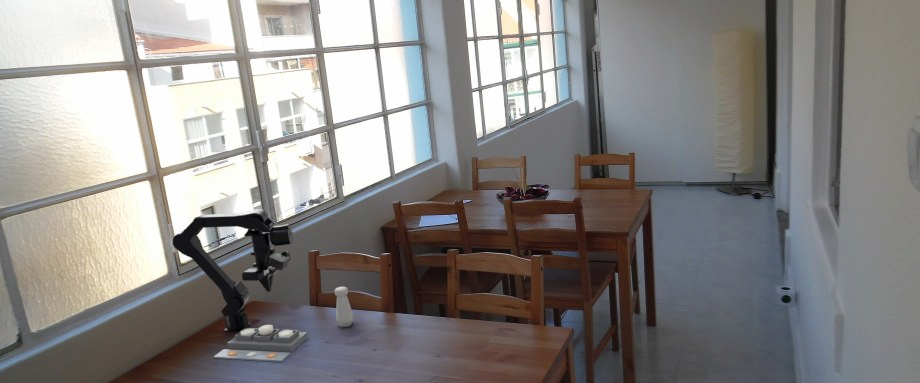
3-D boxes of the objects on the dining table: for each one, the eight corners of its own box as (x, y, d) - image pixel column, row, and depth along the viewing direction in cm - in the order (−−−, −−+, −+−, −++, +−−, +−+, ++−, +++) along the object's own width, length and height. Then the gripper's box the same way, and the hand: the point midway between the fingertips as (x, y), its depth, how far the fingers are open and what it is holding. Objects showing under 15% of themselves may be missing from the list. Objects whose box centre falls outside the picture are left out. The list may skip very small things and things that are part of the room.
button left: (238, 339, 221) (237, 334, 220) (246, 333, 225) (245, 328, 224) (250, 339, 219) (249, 334, 219) (258, 333, 224) (257, 328, 223)
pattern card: (214, 358, 213) (213, 355, 213) (224, 350, 218) (223, 348, 218) (281, 362, 206) (281, 359, 206) (290, 354, 211) (290, 352, 211)
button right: (276, 341, 216) (275, 335, 216) (284, 335, 221) (283, 329, 220) (288, 341, 215) (288, 336, 215) (296, 335, 219) (295, 330, 219)
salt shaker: (350, 328, 226) (345, 291, 223) (334, 328, 227) (329, 291, 224) (356, 321, 231) (351, 284, 229) (340, 321, 233) (335, 284, 230)
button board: (228, 348, 219) (226, 338, 219) (246, 335, 229) (244, 325, 228) (291, 352, 212) (289, 341, 211) (307, 338, 222) (306, 327, 221)
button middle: (256, 335, 218) (255, 330, 218) (264, 329, 222) (263, 324, 222) (268, 336, 217) (267, 330, 217) (276, 330, 221) (275, 324, 221)
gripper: (267, 256, 218) (274, 302, 222) (297, 238, 236) (304, 282, 239) (237, 256, 222) (245, 301, 225) (269, 238, 239) (276, 281, 242)
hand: (269, 291), depth 233 cm, fingers closed
